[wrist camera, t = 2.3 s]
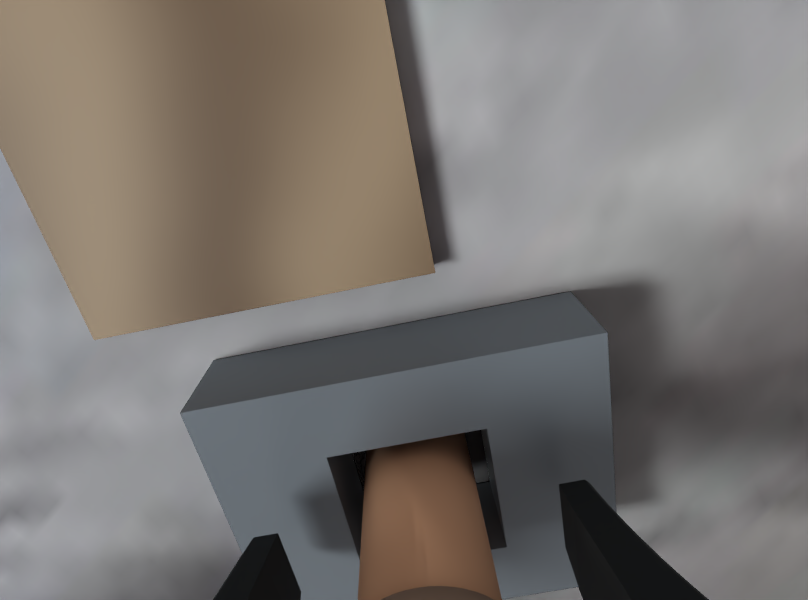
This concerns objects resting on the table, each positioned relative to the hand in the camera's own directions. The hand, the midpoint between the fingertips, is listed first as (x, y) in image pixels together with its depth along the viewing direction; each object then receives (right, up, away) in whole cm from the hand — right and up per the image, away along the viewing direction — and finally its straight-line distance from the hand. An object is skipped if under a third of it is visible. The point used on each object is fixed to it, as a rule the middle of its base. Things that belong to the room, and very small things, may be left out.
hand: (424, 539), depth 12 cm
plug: (0, +1, +3) cm, 4 cm away
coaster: (-5, +10, 0) cm, 11 cm away
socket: (0, +1, +3) cm, 4 cm away
